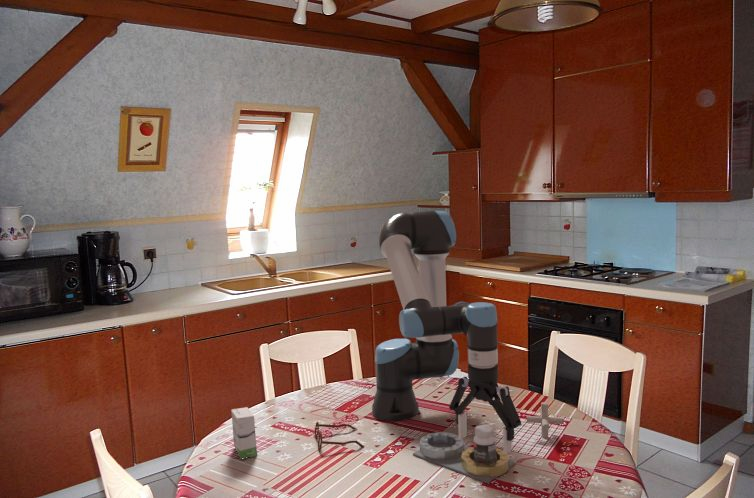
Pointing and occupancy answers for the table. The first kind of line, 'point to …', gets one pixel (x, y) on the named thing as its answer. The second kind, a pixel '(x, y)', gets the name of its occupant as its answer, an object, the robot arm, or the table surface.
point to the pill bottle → (484, 445)
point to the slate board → (457, 463)
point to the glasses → (332, 442)
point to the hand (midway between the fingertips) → (484, 444)
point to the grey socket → (441, 453)
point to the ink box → (244, 432)
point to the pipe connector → (544, 419)
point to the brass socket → (484, 464)
